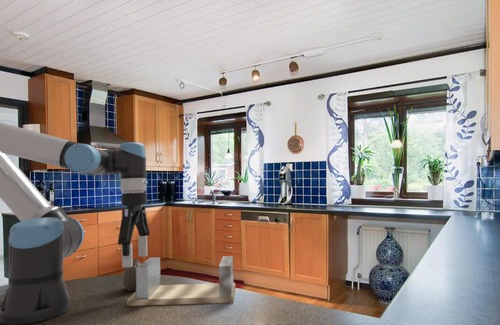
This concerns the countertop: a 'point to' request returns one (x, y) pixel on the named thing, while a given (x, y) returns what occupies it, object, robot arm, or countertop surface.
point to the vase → (130, 276)
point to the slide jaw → (148, 277)
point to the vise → (193, 290)
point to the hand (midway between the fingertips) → (135, 261)
